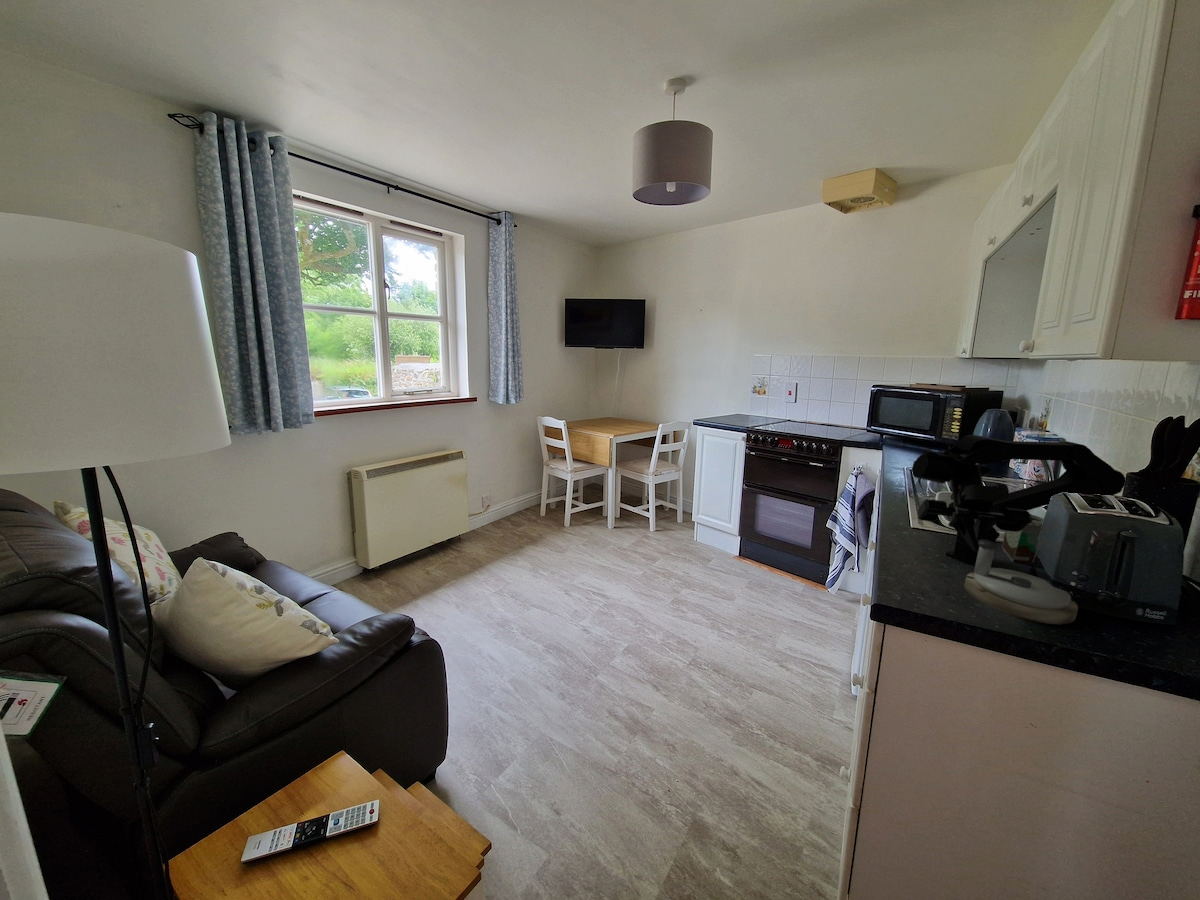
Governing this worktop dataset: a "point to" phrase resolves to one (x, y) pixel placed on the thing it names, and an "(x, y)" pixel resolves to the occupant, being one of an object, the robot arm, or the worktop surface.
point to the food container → (1023, 541)
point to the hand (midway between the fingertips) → (976, 551)
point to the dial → (1016, 582)
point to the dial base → (1020, 606)
